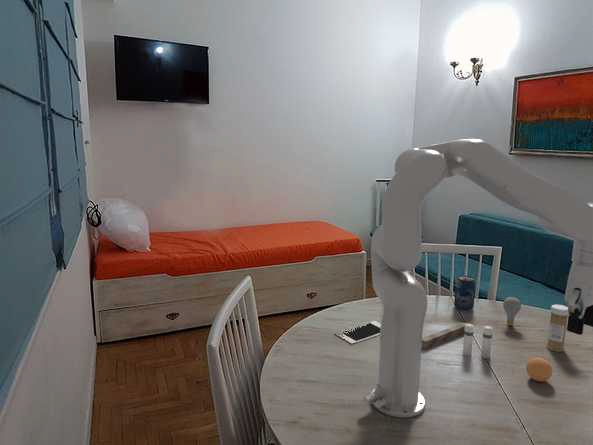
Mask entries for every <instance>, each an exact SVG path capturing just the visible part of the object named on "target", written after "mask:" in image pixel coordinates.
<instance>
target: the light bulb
mask: <svg viewBox="0 0 593 445" xmlns="http://www.w3.org/2000/svg"><path fill="white" fill-rule="evenodd" d="M502 306H503V307H502V308H503V310H504V312H505V314H506V319H507V320H506V324H507V325H508V326H509V327H512V326H513V325H514V322H515V317H516V315H518V313H519V312H520V311H521V309H522V303H521V301H520V300H519V299H518V298H516V297H513V296H509V297H506V298H505V299H504V301H503V303H502Z"/></svg>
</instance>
